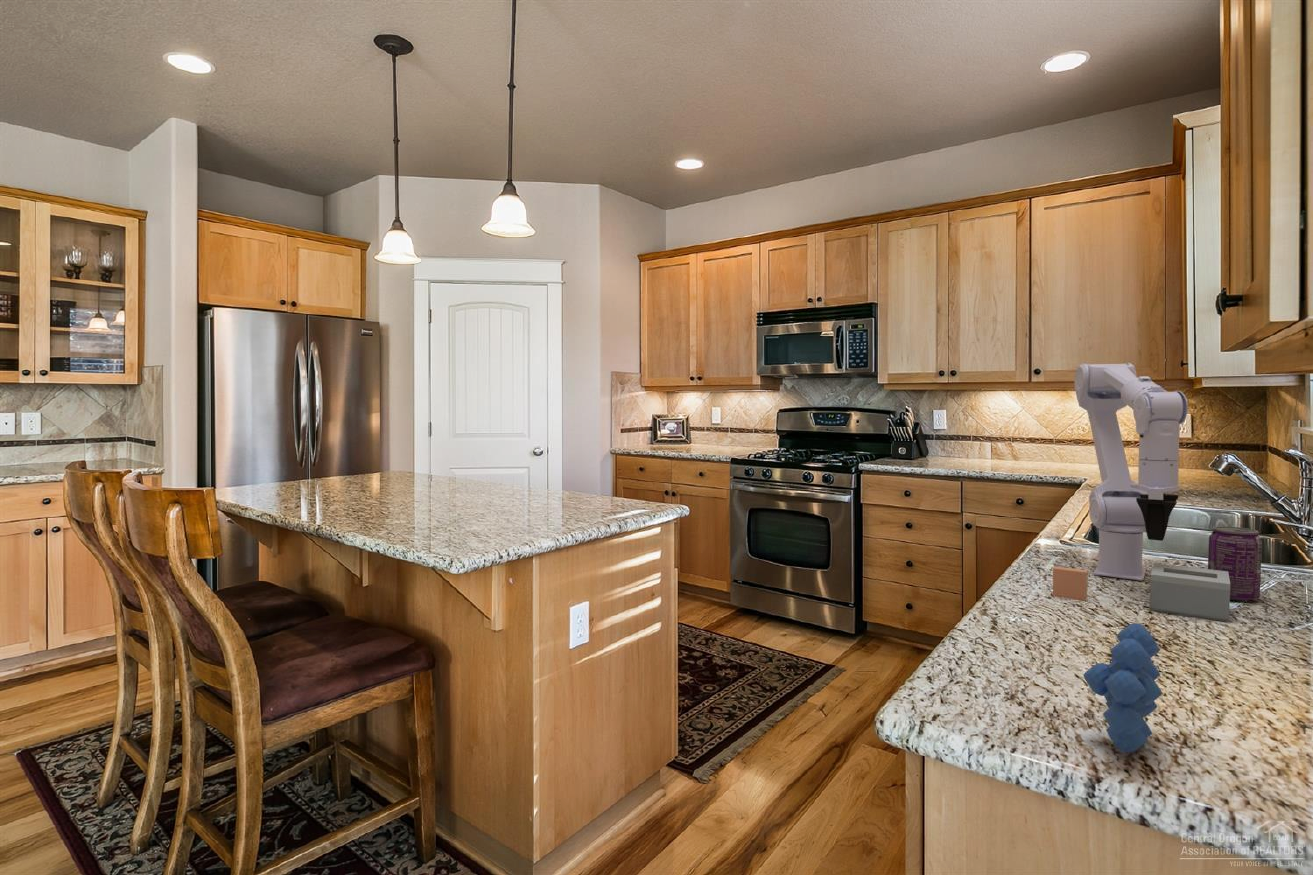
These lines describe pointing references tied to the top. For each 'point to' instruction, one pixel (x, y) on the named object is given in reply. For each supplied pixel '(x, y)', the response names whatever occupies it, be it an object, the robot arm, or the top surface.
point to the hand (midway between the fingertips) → (1156, 536)
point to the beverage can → (1237, 559)
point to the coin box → (1190, 592)
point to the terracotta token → (1070, 583)
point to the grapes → (1128, 687)
